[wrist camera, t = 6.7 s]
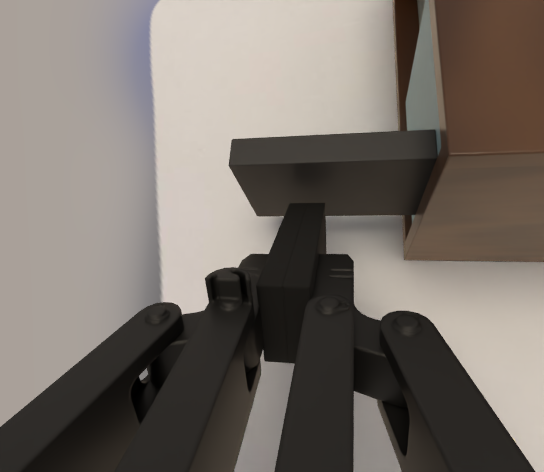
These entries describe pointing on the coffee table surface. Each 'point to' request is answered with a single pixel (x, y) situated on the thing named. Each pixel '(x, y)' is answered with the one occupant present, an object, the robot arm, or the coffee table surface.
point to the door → (350, 158)
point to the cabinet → (479, 129)
